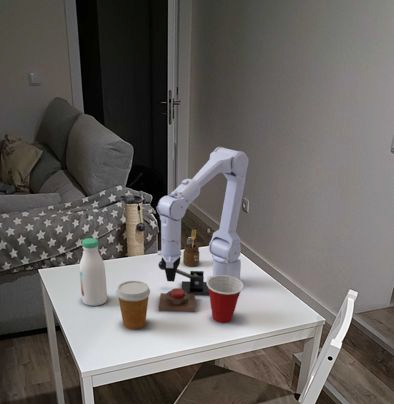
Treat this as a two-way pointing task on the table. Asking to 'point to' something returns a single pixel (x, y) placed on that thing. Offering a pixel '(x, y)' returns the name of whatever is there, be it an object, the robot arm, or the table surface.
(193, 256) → the utensil holder
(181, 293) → the button
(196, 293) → the bracket
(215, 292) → the plastic cup
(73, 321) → the table surface
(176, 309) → the button block
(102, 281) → the milk bottle
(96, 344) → the table surface
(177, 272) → the lever
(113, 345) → the table surface
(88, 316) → the table surface
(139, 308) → the disposable coffee cup
